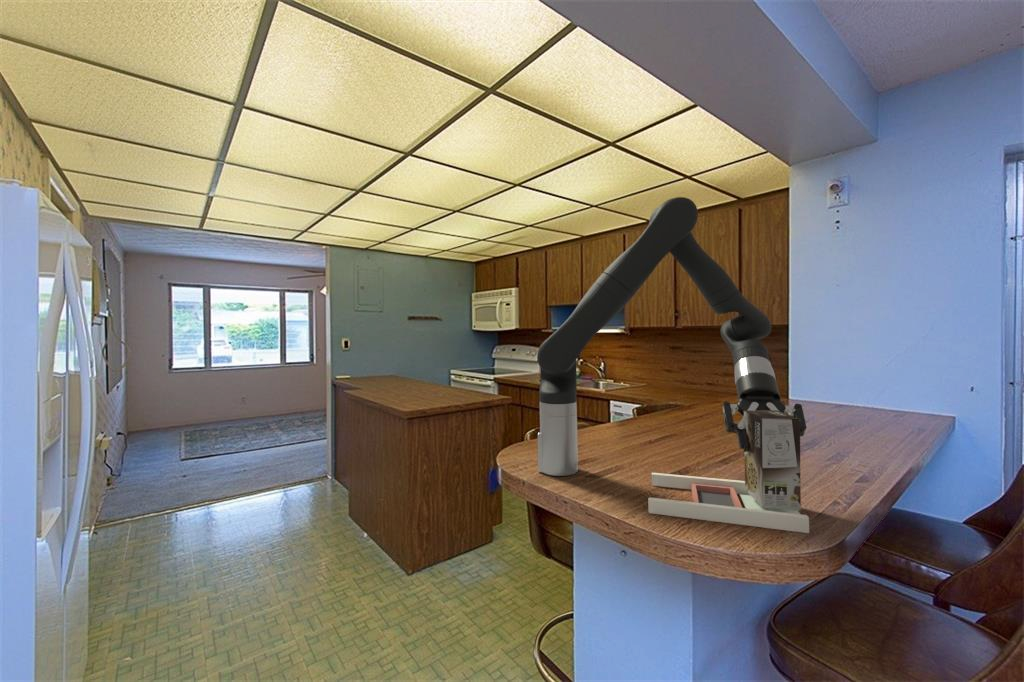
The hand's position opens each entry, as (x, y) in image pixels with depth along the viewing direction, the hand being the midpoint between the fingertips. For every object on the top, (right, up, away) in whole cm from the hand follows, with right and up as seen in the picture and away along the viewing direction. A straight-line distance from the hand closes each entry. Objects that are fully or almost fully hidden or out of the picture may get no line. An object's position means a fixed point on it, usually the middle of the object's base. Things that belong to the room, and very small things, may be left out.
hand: (769, 451), depth 76 cm
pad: (0, -11, -1) cm, 11 cm away
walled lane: (-8, -11, +3) cm, 14 cm away
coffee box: (0, -9, 0) cm, 9 cm away
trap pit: (-9, -11, +3) cm, 14 cm away
